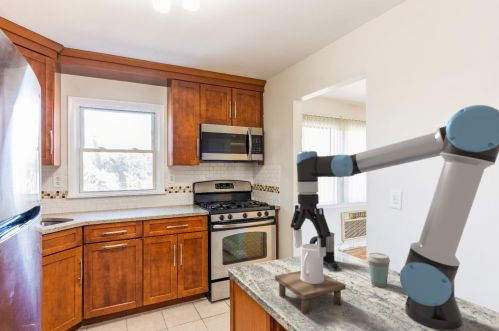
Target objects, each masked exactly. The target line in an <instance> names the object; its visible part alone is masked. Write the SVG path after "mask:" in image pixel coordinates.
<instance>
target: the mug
mask: <svg viewBox="0 0 499 331" xmlns="http://www.w3.org/2000/svg"><path fill="white" fill-rule="evenodd" d="M300 271H301V277H300V279H301V280H302V281H303V282H305V283H309V284H320V283H322V282H324V277H323V274H324V264H323V257H318V245H317V243H315V244H310V243H304V244H302V245H301V247H300Z"/></svg>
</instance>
